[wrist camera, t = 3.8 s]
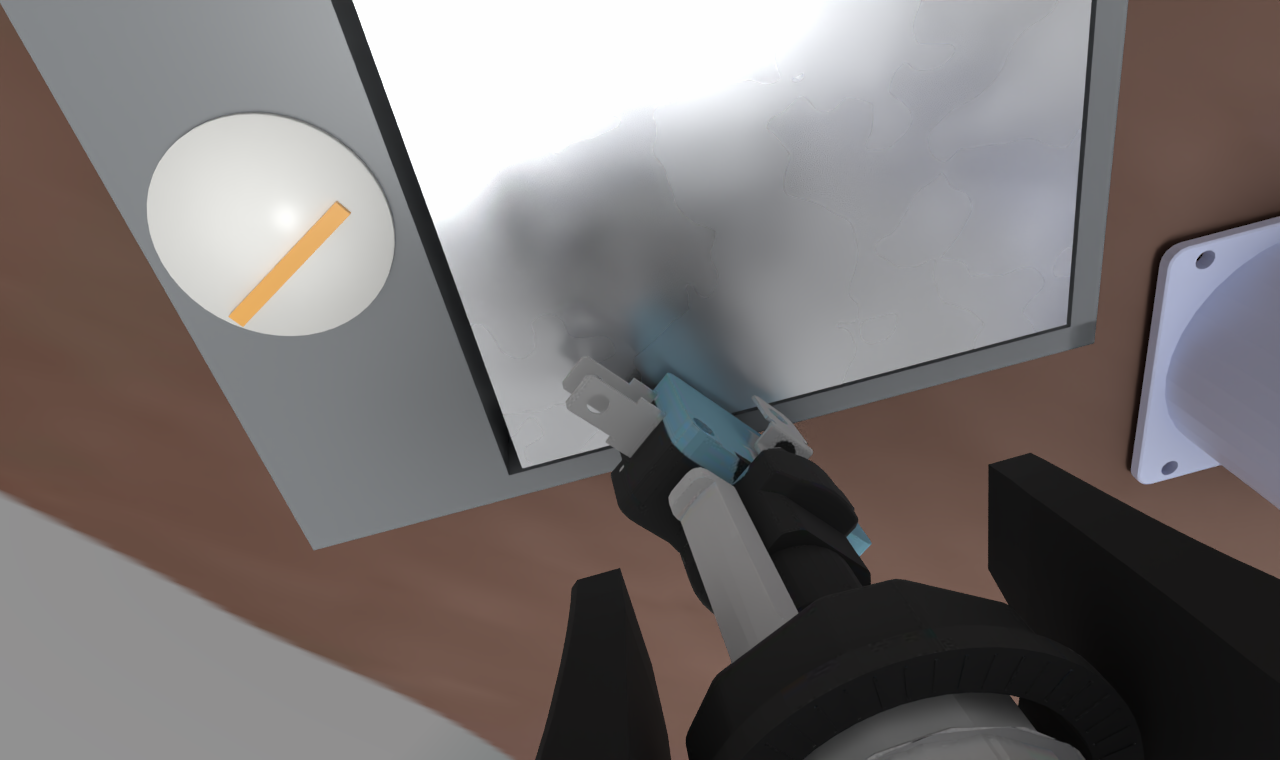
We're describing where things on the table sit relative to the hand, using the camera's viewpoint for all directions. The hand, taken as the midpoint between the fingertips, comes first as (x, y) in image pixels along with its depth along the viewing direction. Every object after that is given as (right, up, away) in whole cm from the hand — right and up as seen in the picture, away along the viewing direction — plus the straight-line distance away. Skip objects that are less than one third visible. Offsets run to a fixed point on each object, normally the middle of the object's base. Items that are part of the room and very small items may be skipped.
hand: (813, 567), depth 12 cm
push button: (-1, +2, +6) cm, 6 cm away
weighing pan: (0, +8, +3) cm, 8 cm away
